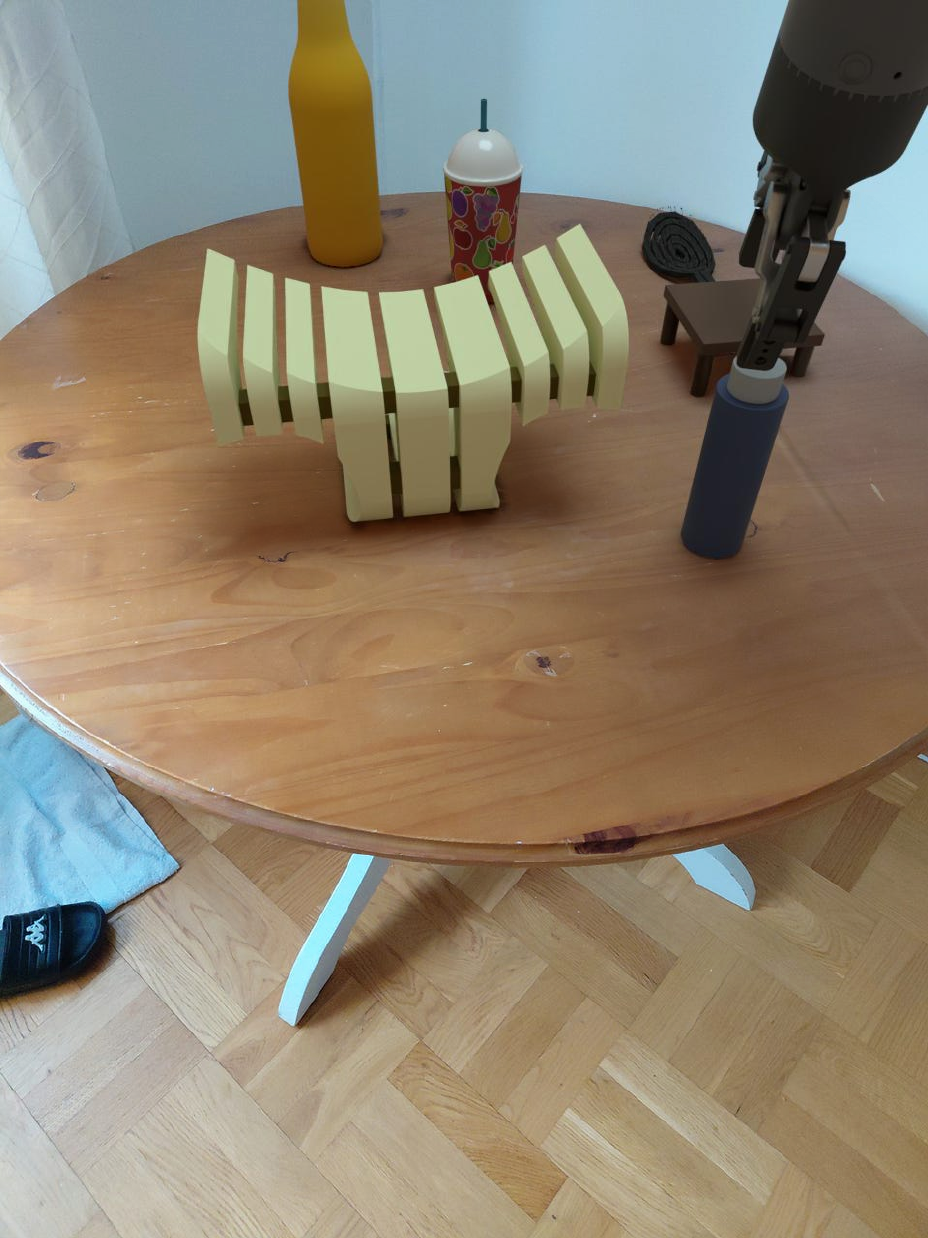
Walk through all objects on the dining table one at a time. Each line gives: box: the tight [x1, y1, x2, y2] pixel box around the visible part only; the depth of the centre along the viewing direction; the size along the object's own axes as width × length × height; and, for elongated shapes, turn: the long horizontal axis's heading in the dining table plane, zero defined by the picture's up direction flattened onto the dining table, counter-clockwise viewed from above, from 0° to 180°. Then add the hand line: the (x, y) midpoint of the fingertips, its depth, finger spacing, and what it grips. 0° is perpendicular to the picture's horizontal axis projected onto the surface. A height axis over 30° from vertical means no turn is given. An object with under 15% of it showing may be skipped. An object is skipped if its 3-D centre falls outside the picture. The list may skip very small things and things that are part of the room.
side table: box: [659, 277, 826, 398], centre depth 87 cm, size 12×12×6 cm
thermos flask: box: [680, 355, 790, 560], centre depth 65 cm, size 5×5×16 cm
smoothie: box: [442, 98, 524, 304], centre depth 92 cm, size 8×8×20 cm
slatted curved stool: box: [197, 223, 630, 523], centre depth 70 cm, size 30×16×18 cm, turn 98°
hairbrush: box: [641, 205, 717, 283], centre depth 100 cm, size 8×4×25 cm
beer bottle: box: [287, 0, 384, 268], centre depth 96 cm, size 9×9×29 cm
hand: (753, 312), depth 53 cm, fingers open, 8 cm apart
